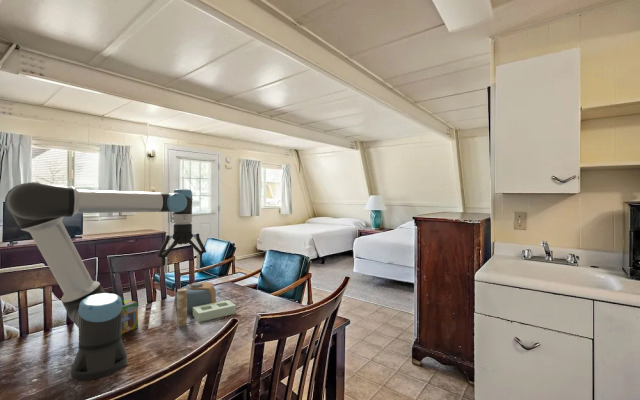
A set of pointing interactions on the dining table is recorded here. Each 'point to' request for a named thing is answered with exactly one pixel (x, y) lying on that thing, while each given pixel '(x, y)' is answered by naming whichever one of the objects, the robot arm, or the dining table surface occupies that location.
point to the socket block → (214, 310)
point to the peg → (181, 307)
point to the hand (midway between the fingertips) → (182, 270)
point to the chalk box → (129, 315)
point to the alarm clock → (199, 294)
